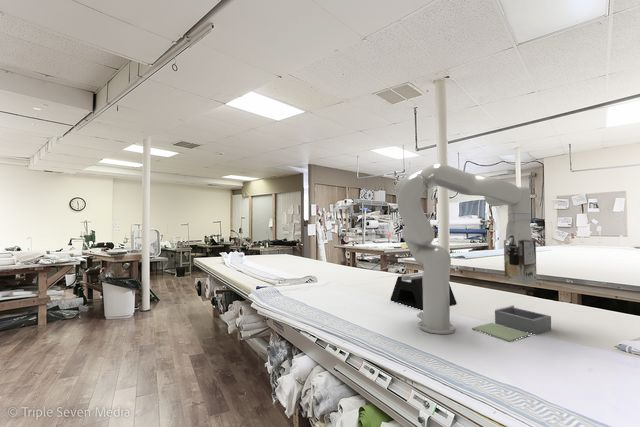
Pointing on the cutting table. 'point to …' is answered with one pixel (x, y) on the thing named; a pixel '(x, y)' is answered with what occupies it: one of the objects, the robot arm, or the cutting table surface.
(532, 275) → the coffee box
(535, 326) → the grey open frame
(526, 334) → the mat
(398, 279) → the device stand
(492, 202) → the robot arm
